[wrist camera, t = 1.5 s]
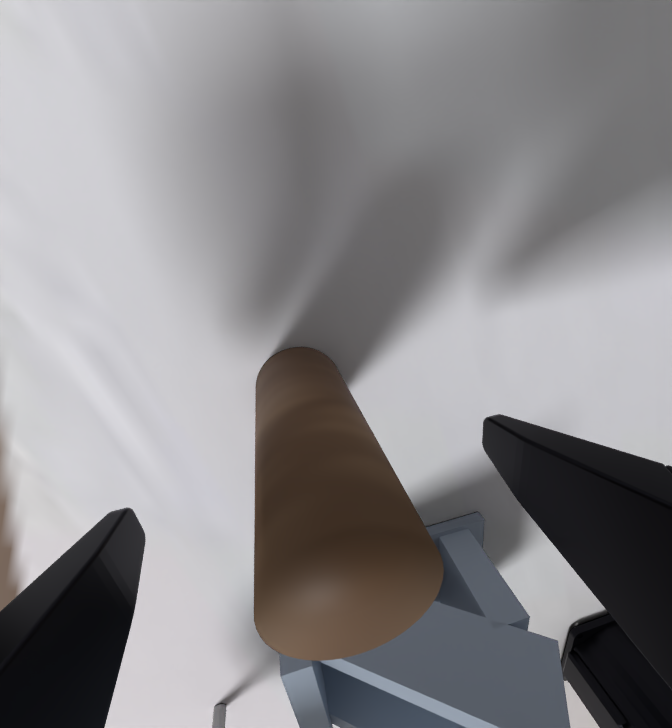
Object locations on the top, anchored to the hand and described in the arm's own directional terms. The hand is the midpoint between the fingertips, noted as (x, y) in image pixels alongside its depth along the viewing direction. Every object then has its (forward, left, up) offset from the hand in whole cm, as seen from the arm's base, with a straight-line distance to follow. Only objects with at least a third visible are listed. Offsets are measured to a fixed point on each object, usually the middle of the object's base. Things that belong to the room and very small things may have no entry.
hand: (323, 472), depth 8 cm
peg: (0, 0, -5) cm, 5 cm away
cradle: (-3, +13, -5) cm, 14 cm away
